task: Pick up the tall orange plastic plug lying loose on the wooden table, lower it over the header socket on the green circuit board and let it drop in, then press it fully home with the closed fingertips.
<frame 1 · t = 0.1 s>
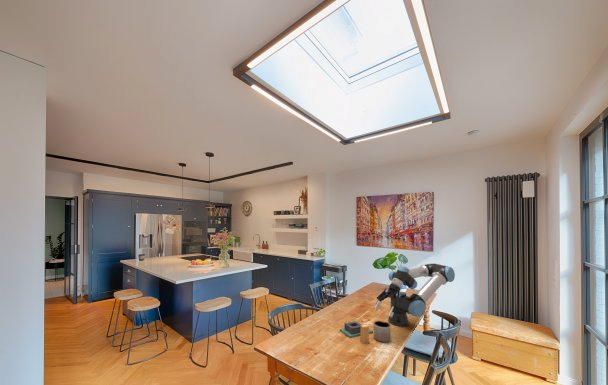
hand: (382, 312, 177), 15 cm above the table, tool tilted 35°, fingers open, 13 cm apart
board: (356, 331, 181), on the table
plug: (364, 341, 166), on the table
planter: (382, 339, 172), on the table
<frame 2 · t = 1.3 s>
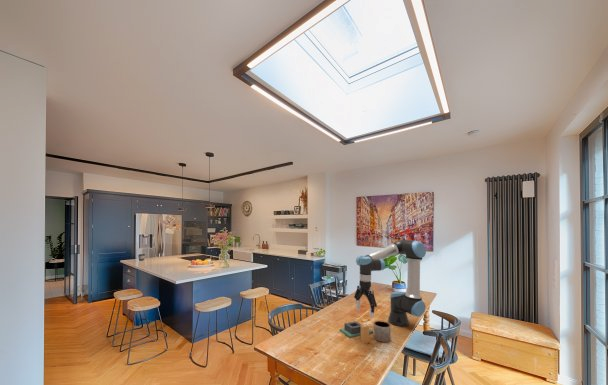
hand: (364, 313, 168), 18 cm above the table, tool pointing down, fingers open, 13 cm apart
nothing on the table moved.
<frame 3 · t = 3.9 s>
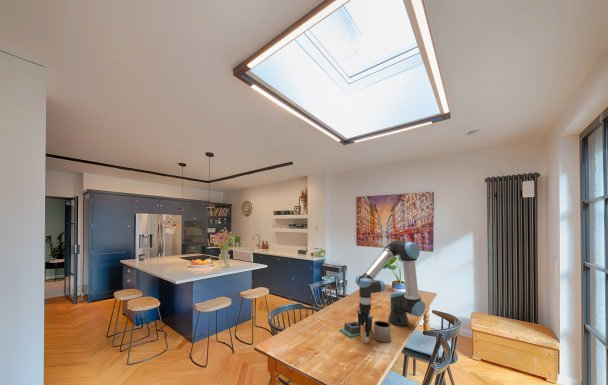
hand: (364, 340, 167), 1 cm above the table, tool pointing down, fingers closed on plug, 3 cm apart
plug: (364, 341, 166), on the table, touching gripper
everything else where it was.
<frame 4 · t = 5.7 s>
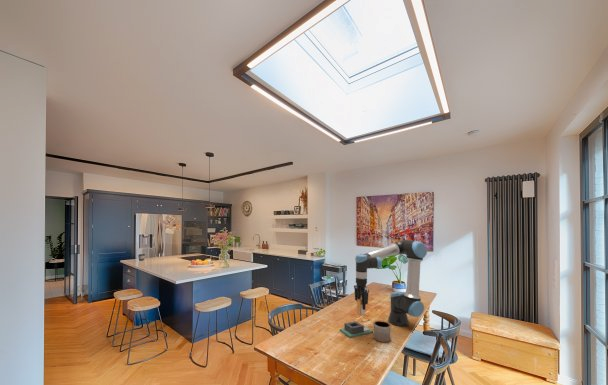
hand: (361, 313, 173), 16 cm above the table, tool pointing down, fingers closed on plug, 3 cm apart
plug: (361, 314, 173), point 15 cm above the table, touching gripper
everything else where it was.
when the fingers open (7 cm above the table, at t = 7.9 s): plug drops 3 cm, resting on board.
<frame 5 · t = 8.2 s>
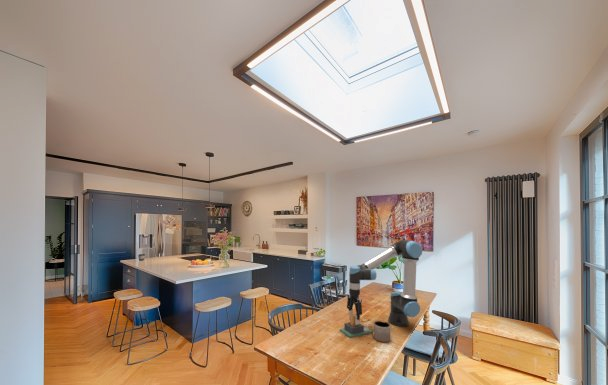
hand: (354, 321, 181), 7 cm above the table, tool pointing down, fingers open, 7 cm apart
plug: (353, 329, 180), point 2 cm above the table, touching board
everything else where it was.
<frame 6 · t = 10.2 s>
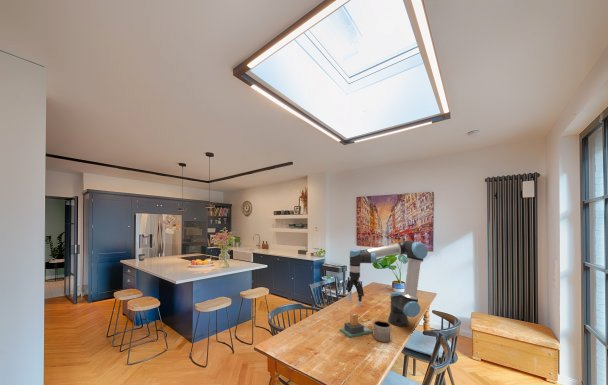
hand: (354, 303, 182), 20 cm above the table, tool pointing down, fingers open, 10 cm apart
nothing on the table moved.
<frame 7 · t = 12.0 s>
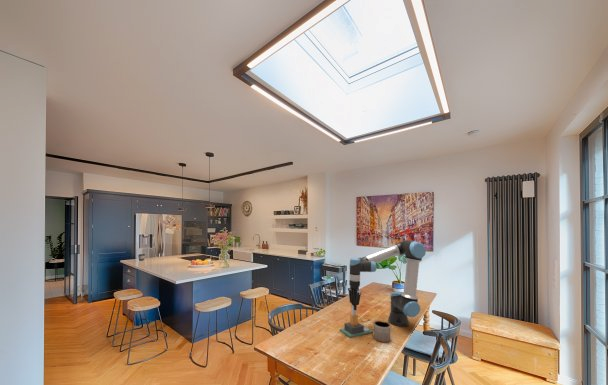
hand: (354, 314, 181), 12 cm above the table, tool pointing down, fingers closed
plug: (353, 329, 180), point 2 cm above the table, touching board, gripper
everything else where it was.
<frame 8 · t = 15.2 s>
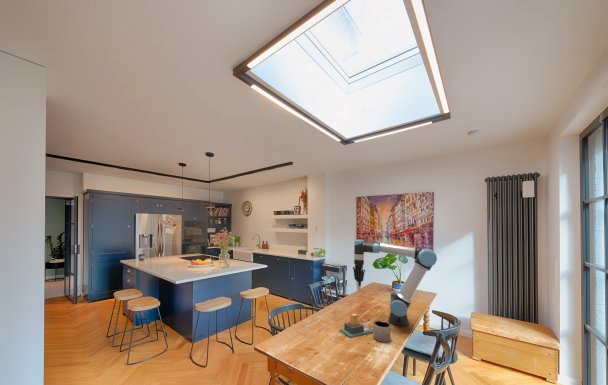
hand: (358, 289, 200), 24 cm above the table, tool pointing down, fingers closed
plug: (353, 329, 180), point 2 cm above the table, touching board
everything else where it was.
at the end: plug 0.0 cm from the target spot on the board, point 2.0 cm above the board's base; plug tilted 0°; the gripper is holding nothing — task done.
